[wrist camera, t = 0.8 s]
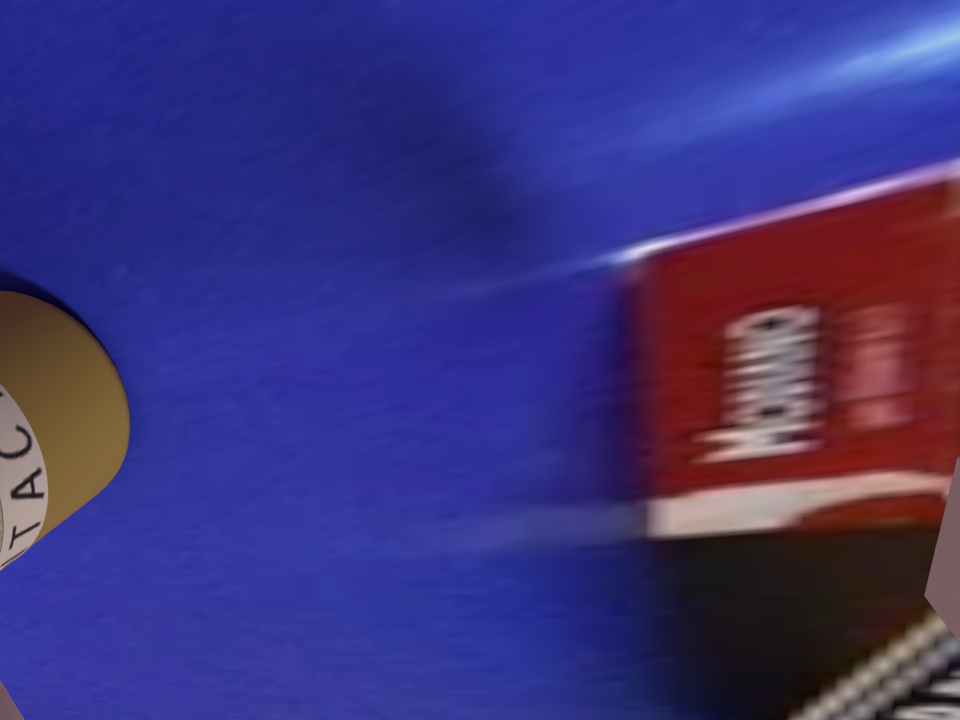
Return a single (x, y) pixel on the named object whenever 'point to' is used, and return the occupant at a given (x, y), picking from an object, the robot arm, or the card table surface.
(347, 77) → the card table surface
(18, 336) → the paper tube
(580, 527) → the card table surface
